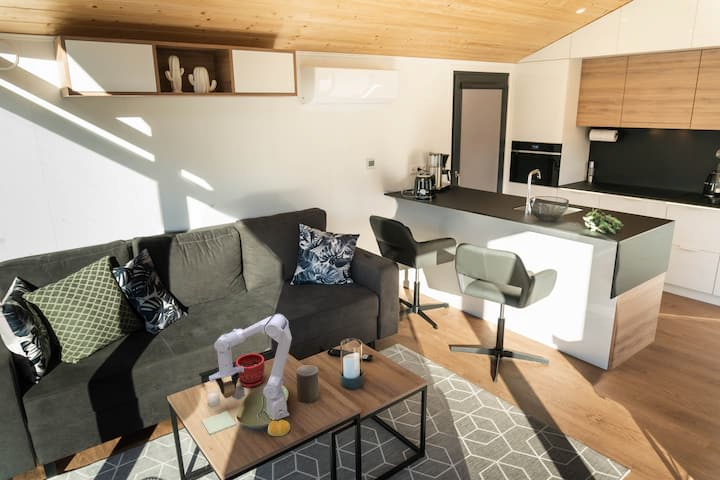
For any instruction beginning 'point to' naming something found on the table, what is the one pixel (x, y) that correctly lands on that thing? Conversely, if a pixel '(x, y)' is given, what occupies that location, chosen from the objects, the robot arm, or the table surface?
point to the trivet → (218, 422)
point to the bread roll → (278, 428)
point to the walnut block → (228, 389)
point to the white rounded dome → (213, 398)
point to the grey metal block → (239, 392)
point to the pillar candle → (307, 384)
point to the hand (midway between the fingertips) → (228, 391)
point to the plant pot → (251, 370)
